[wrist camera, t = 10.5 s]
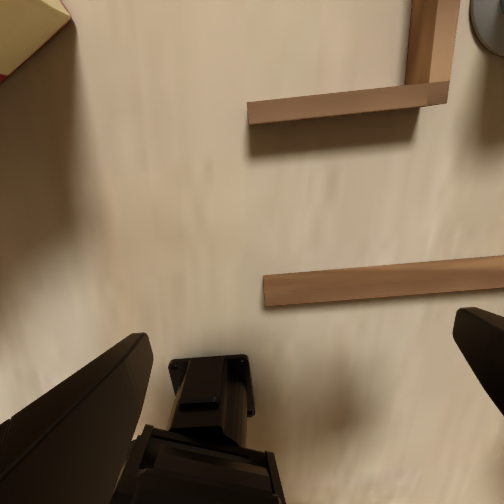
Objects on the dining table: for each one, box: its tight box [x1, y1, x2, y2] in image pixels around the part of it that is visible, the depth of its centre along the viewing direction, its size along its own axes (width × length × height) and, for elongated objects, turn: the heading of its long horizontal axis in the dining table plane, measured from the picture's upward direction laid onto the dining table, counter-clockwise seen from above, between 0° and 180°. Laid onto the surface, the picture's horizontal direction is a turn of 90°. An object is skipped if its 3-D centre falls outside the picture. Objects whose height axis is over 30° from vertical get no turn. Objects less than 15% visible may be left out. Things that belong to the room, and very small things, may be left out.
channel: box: [247, 0, 504, 306], centre depth 16 cm, size 20×21×2 cm
